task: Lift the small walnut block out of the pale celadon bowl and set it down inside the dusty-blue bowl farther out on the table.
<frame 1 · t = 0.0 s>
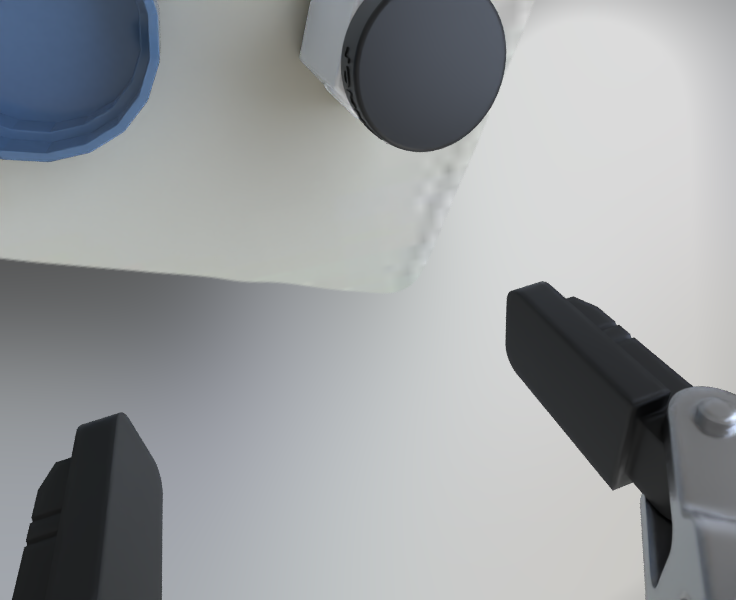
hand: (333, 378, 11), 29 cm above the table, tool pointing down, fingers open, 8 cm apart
jar: (360, 37, 35), on the table
blue bowl: (23, 7, 29), on the table
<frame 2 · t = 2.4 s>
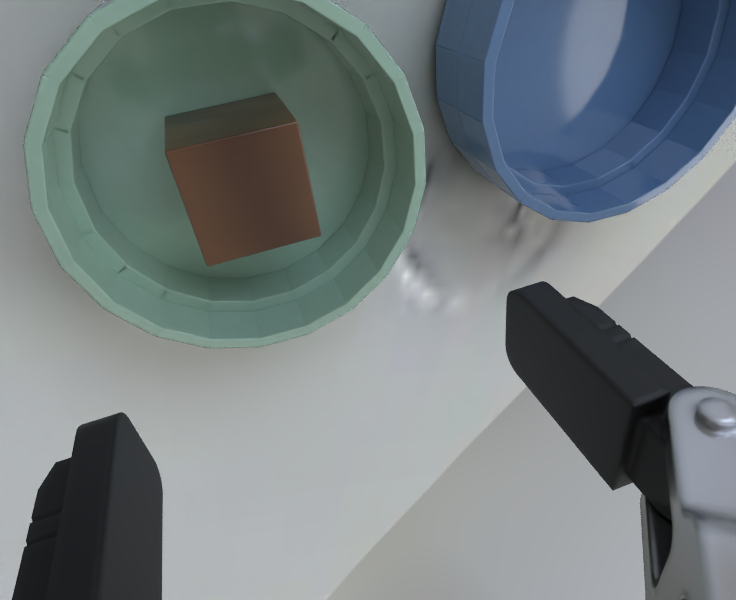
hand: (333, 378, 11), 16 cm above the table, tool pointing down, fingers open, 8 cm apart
celadon bowl: (235, 153, 23), on the table
walnut block: (236, 157, 23), point 1 cm above the table, touching celadon bowl
blue bowl: (564, 45, 25), on the table
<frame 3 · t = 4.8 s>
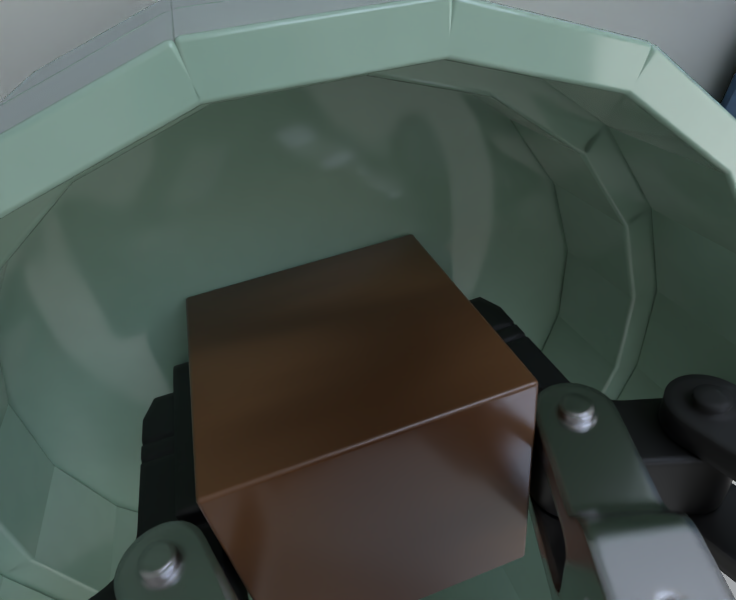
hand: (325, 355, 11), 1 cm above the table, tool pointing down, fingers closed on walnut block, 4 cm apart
celadon bowl: (317, 335, 12), on the table
walnut block: (324, 350, 12), point 1 cm above the table, touching celadon bowl, gripper
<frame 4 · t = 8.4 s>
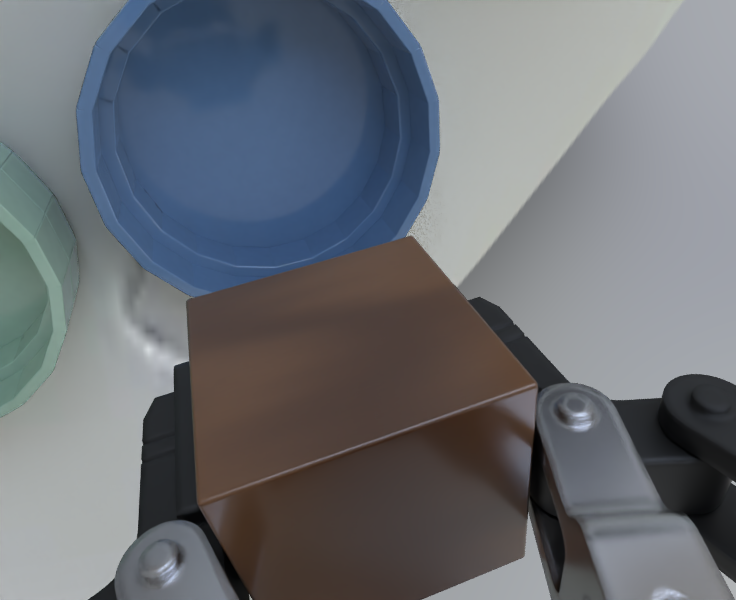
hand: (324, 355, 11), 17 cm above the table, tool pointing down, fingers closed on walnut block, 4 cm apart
walnut block: (324, 351, 12), point 17 cm above the table, touching gripper
blue bowl: (259, 126, 25), on the table
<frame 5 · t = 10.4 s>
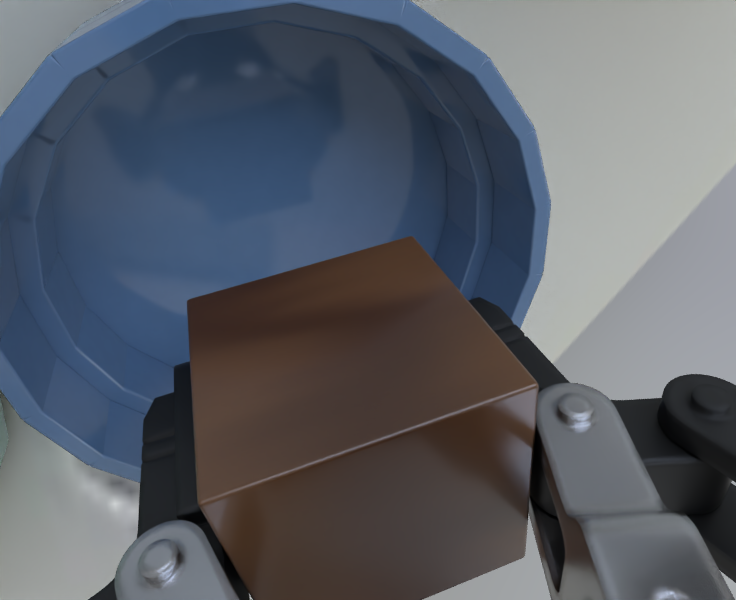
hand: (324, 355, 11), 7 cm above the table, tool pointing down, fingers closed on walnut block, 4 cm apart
walnut block: (325, 351, 12), point 7 cm above the table, touching gripper
blue bowl: (269, 222, 17), on the table
when the fingers open (1 cm above the table, at t = 12.3 s): walnut block stays where it is, resting on blue bowl.
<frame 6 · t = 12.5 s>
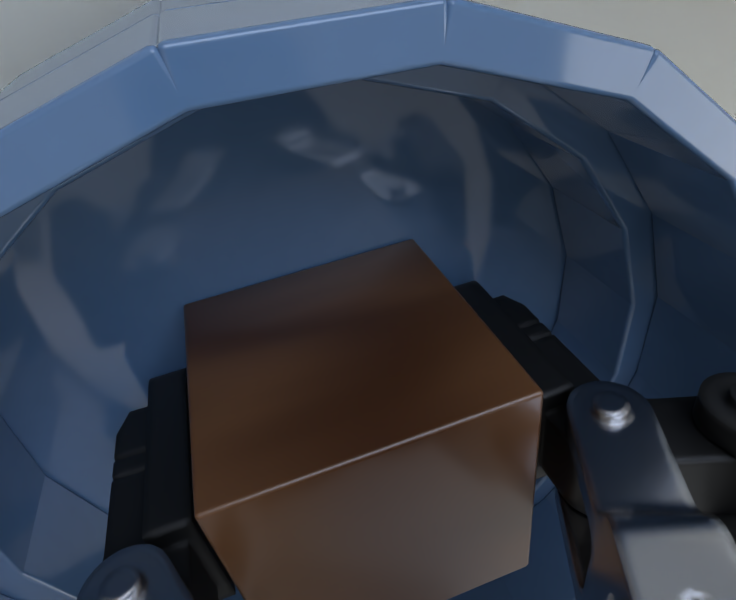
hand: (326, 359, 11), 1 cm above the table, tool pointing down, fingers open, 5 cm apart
walnut block: (324, 356, 11), point 1 cm above the table, touching blue bowl
blue bowl: (312, 341, 12), on the table
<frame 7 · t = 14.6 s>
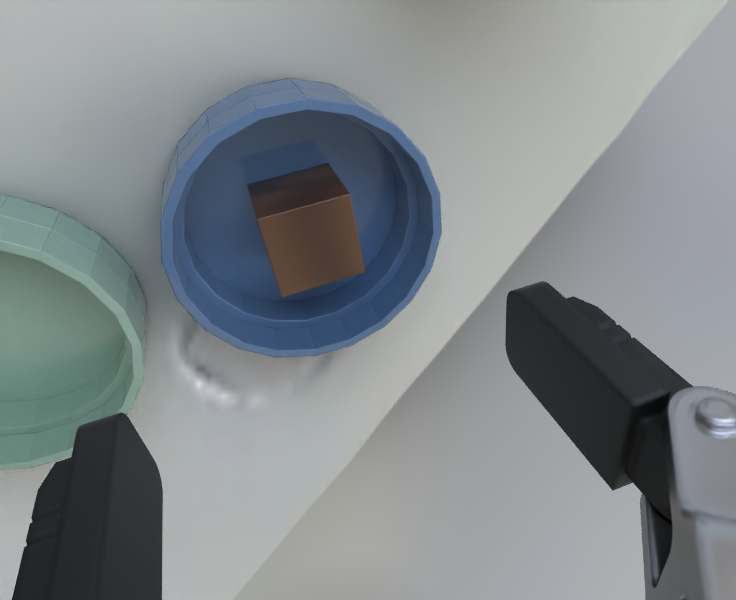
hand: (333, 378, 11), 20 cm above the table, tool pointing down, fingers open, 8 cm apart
celadon bowl: (8, 310, 29), on the table
walnut block: (298, 211, 30), point 1 cm above the table, touching blue bowl
blue bowl: (294, 207, 30), on the table
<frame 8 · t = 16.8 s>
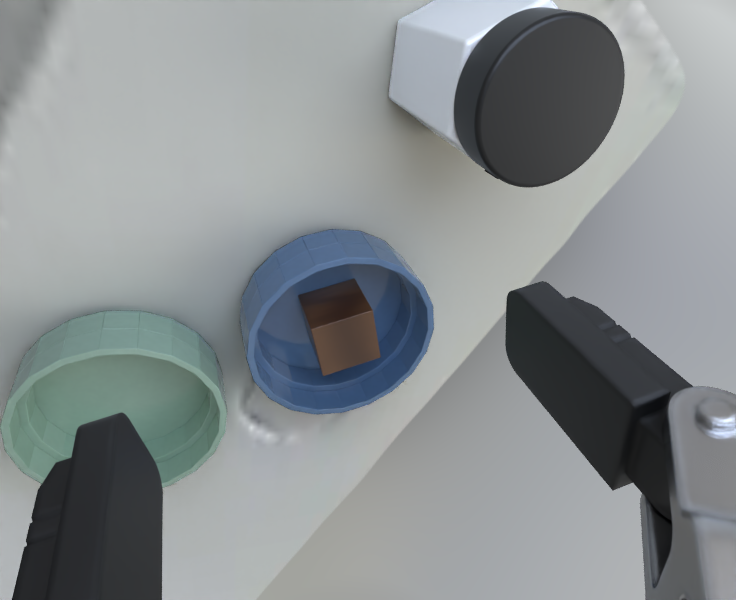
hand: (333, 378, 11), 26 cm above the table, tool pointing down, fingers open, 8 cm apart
jar: (445, 63, 35), on the table
celadon bowl: (126, 382, 40), on the table
walnut block: (331, 309, 42), point 1 cm above the table, touching blue bowl
blue bowl: (328, 305, 42), on the table
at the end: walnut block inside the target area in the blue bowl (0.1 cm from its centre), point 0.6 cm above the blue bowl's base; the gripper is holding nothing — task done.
